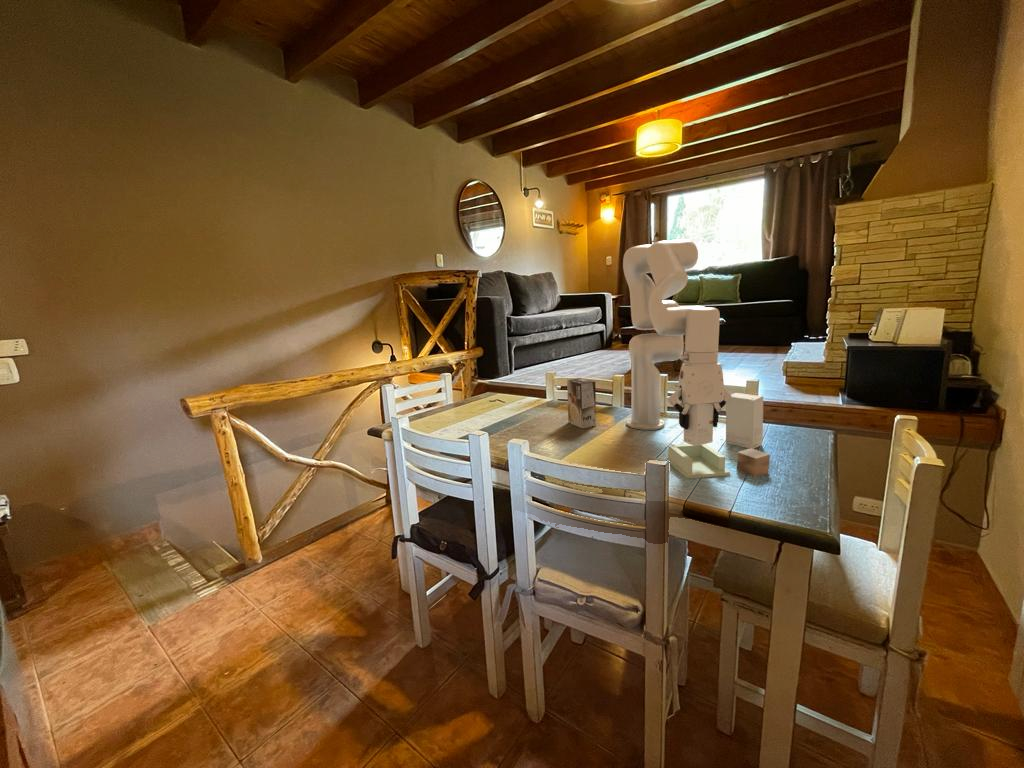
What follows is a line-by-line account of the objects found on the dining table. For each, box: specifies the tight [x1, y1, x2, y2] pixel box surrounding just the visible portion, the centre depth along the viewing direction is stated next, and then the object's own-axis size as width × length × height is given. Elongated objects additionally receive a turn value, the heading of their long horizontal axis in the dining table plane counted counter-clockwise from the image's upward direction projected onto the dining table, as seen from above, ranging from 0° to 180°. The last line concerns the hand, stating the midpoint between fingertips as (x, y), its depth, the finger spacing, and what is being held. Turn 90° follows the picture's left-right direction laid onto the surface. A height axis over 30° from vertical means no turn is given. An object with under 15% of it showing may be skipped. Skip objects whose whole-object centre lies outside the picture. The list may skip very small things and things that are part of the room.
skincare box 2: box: [725, 392, 764, 449], centre depth 123 cm, size 8×6×15 cm
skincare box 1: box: [683, 404, 714, 446], centre depth 108 cm, size 6×4×12 cm
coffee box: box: [566, 377, 597, 430], centre depth 149 cm, size 9×6×16 cm
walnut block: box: [736, 448, 771, 478], centre depth 106 cm, size 5×5×5 cm
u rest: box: [665, 443, 731, 479], centre depth 110 cm, size 12×11×4 cm
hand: (698, 426), depth 108 cm, fingers closed on skincare box 1, 6 cm apart
